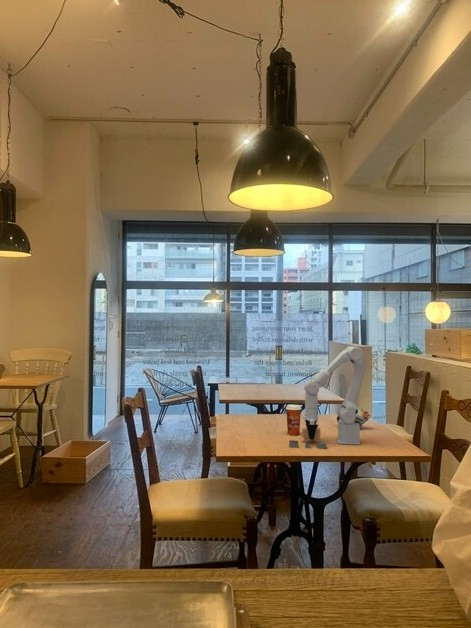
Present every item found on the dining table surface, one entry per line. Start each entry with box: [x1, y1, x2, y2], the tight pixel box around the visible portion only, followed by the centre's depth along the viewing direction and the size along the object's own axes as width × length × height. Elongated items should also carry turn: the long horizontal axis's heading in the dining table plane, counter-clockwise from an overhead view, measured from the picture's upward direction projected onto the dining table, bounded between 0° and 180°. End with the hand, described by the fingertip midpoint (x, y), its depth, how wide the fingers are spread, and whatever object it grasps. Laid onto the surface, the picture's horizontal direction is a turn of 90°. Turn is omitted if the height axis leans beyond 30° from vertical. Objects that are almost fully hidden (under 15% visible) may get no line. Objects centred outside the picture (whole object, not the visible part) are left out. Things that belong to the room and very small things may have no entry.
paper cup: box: [285, 404, 302, 437], centre depth 213 cm, size 8×8×14 cm
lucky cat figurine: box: [336, 406, 371, 427], centre depth 228 cm, size 15×12×14 cm
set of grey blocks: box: [288, 439, 327, 450], centre depth 190 cm, size 16×4×2 cm, turn 82°
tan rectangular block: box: [301, 427, 321, 443], centre depth 198 cm, size 8×3×6 cm, turn 82°
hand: (311, 437), depth 198 cm, fingers open, 7 cm apart
